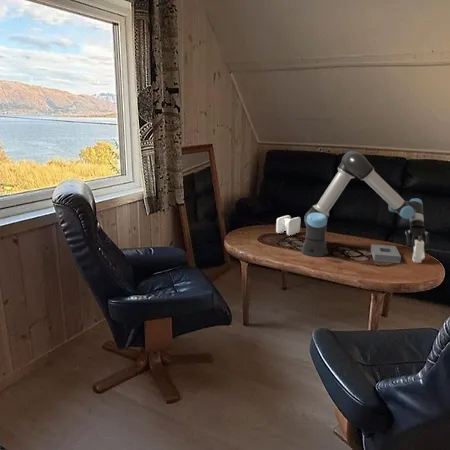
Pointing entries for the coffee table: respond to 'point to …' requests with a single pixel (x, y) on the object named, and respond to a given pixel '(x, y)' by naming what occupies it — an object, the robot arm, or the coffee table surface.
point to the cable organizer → (288, 225)
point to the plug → (418, 250)
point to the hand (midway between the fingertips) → (418, 257)
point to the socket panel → (385, 253)
